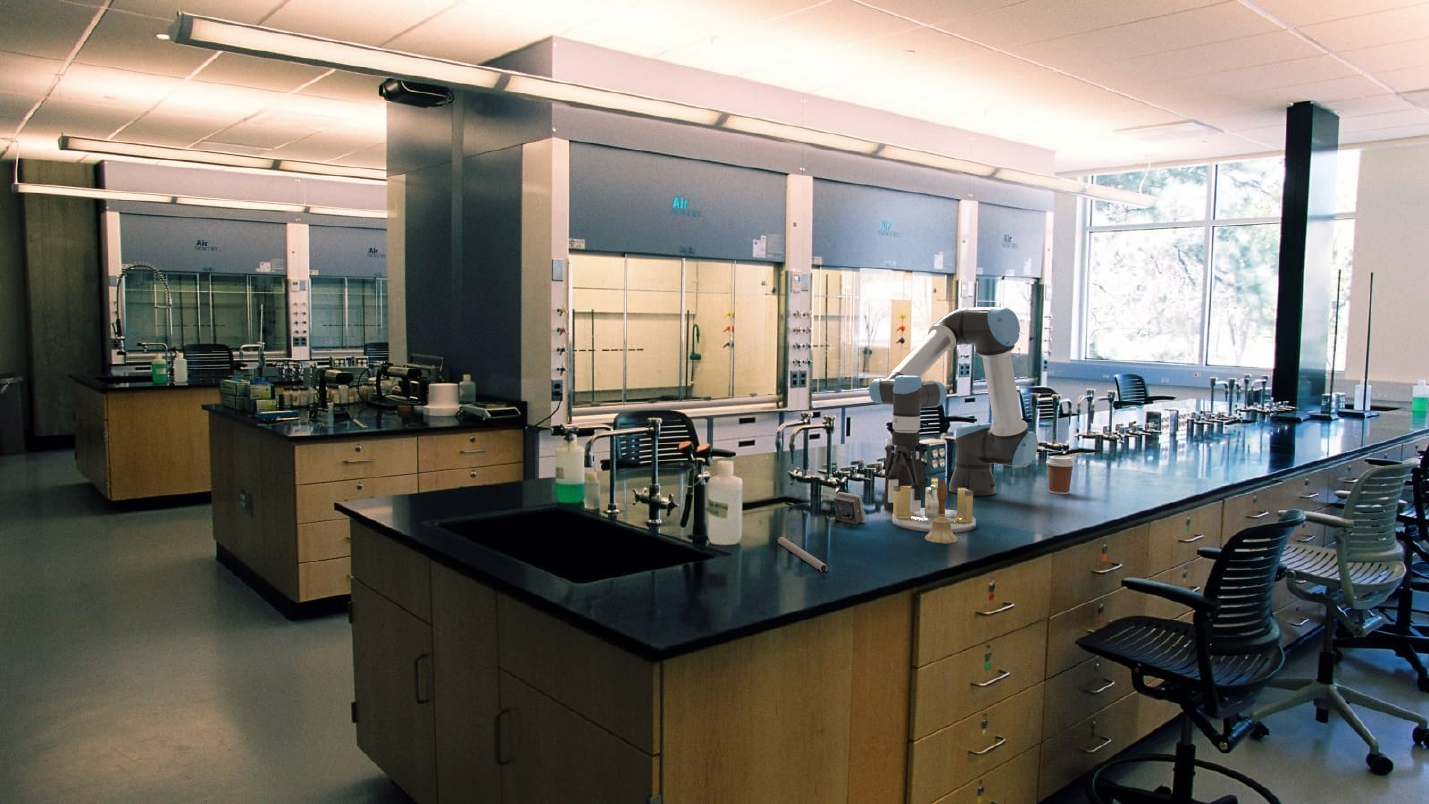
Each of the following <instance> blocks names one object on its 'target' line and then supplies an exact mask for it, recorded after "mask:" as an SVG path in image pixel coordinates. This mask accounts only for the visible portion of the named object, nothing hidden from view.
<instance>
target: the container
mask: <svg viewBox="0 0 1429 804" xmlns="http://www.w3.org/2000/svg"><path fill="white" fill-rule="evenodd" d="M892 445H893V444H892V443H891V444H886V446H885V447H884V450H885V452H886V455H885V456H886V457H885V466H886V465H887V461H888V458H889V454H890V446H892ZM884 477H885V478H884V499H883V509H884V510H885V511H889V512H893V502H892V503H889V502H888V483H889V479H888V478H887V476H885V475H884ZM898 477H899V479H897V480H898V486H912V483H911V479H910V476H909V473H908V470H907V468H906V467H905V466H904V465H903V466H902V468H901V470H900V472H899V474H898Z"/></svg>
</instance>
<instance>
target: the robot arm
mask: <svg viewBox="0 0 1429 804" xmlns="http://www.w3.org/2000/svg"><path fill="white" fill-rule="evenodd" d="M1020 332H1021V326H1020V321H1019V318H1018V316H1017V314H1016V313H1015V312H1014V311H1013V310H1011V309H1010V308H1009V307H1001V306H992V307H989V306H988V307H969V306H968V307H962V308H961V307H960V308H958V309H955V310H953V311H951V312H949V313H947V314H946V315H944V316H942V317H941V318H940V319H938V320H937V321H936V322H935V323H933V324H932V326H931V327H930V328H929V329H928V333H927V335H926V336H925V337H924V338H923V339H922V340H921V341H920V342H919V343H918V345H916V346H915V348H914V349H913V350H912V351H910V353H909V354H908V355H907V356H906V357H905V358H904V359H903V360H901V362H900V363H898V364H897V366H896V367H895V368H894V369H892V371H891V372H890V373H889V374H888V375H887V376H886V377H885V378H883V377H880V378H875V379H873V380H872V381H871V382H870V385H869V388H868V395H869V397H870V399H871V401H872V402H873V403H875V404H881V405H883V406H884V405H890V406H892V407H893V408H892V409H893V410H892V411H893V412H892V420H891V422H892V429H893V431H892V433H891V444H893V445H892V446H890V454H889V458H888V461H887V465H886V464H885V470H884V477H885V476H887V478H888V479H889V483H888V502H889V503H892V502H894V491H893V487H894V486H898V480H897V479H899V477H898V474H899V472H900V470H901V468H902V466H903V465H904V466H905V467H906V468H907V470H908V473H909V476H910V479H911V505H910V512H921V508H922V507H921V506H922V503H921V502H922V489H923V488H926V487H927V481H926V475H925V470H924V465H923V459H922V458H923V457H922V455H923V454H922V453H923V452H922V451H916V446H917V447H918V446H919V445H920V439H921V437H920V436H921V435H920V432H919V431H920V430H921V409H926V408H931V409H934V408H936V407H939V406H940V407H941V406H942V405H943V404H944V403H945V401H946V399H947V394H948V393H947V388H946V387H945V385H944V384H943V383H942V382H940V381H938V380H927V381H925V380H922V377H923V376H924V375H925V374H926V373H927V372H928V371H929V370H930V369H931V368H932V367H933V366H934V365H935V363H936V362H938V360H939V359H940V358H942V356H943V355H944V354H945V353H946V352H950V351H952V350H953V349H955V348H956V347H957V346H961V345H974V347H975V348H974V349H975V352H976V354H977V355H978V356H979V357H981V358H982V363H983V364H982V365H983V370H984V376H985V381H986V386H987V392H988V398H989V404H990V409H991V415H992V421H993V423H991V422H985V423H984V422H983V423H968V424H961V425H959V426H958V427H957V429H956V431H955V432H956V434H955V463H954V465H955V466H954V467H955V468H954V470H953V473H952V476H951V478H950V481H949V485H948V487H949V488H948V491H949V492H951V493H954V494H957V495H958V488H965V489H968V490H970V491H973V496H980V497H981V496H992V495H996V493H997V492H996V491H997V488H996V487H997V486H996V483H995V479H994V476H993V473H992V464H993V465H1001V466H1009V467H1010V466H1011V467H1013V468H1016V467H1018V468H1026V467H1028V466H1029V465H1030V464H1031V463H1032V462H1033V461H1034V459H1035V456H1036V454H1037V450H1038V444H1039V441H1038V435H1037V434H1036V433H1035V432H1034V431H1029V426H1028V423H1027V421H1025V420H1023V418H1022V414H1021V409H1020V402H1019V395H1018V391H1017V390H1018V388H1017V384H1016V378H1015V372H1014V366H1013V365H1014V364H1013V360H1012V354H1011V353H1012V351H1013V350H1014V349H1015V347H1016V346H1015V344H1017V343H1018V341H1019V340H1020Z"/></svg>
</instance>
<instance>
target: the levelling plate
mask: <svg viewBox="0 0 1429 804" xmlns="http://www.w3.org/2000/svg"><path fill="white" fill-rule="evenodd" d="M924 488H925V489H924V490H925V493H924V494H925V495H924V507H921V512H914V515H912V518H911V519H897V518H896V516H895V515H893V513H892V517H891V518H892V519H891V521H892V523H893V524H894V525H895V526H897V527H900V528H902V529H907V530H910V531H911V530H912V531H916V532H917V531H918V532H924V533H929V532H930V530H931V528H932V524H933V519H934V518H937V517H938V516H939V513H938V512H939V501H938V497H937V488H938V485H932V484H930V485H929V486H926V487H924ZM945 517H946V518H948V519H949V520H950V522H951V529H952V532H953V534H954V533H962V532H969V531H971V530H974V529H975V528H976V527H977V526H976V523H977V522H976V521H977V519H976V517H975V516H974V515H972V519H973V522H972V523H960V522H957V521H956V518H957V510H953V509H947V508H945Z"/></svg>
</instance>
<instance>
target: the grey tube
mask: <svg viewBox="0 0 1429 804" xmlns="http://www.w3.org/2000/svg"><path fill="white" fill-rule="evenodd" d="M777 543H778V544H779V545H781V546H782V547H784V548H785V549H786V550H788V551H789V552H791V553H793V554H794V555H795V556H797V557H798V558H800V559H802V560H803V561H805V562H806V563H808V564H809V565H810V566H812V567H814V568H815V569H816V570H818V569H819V570H820V572H823V571H824V570H825V571H824V572H827V571H828V569H829V567H828V565H827V564H826V563H825V562H822V561H821V560H820V559H818V558H817V557H815V556H813V555H812V554H810V553H808V552H807V551H805V550H804V549H803V548H801V547H799V546H798V545H797V544H794V543H793V542H791V541H790V540H788V539H787V538H786V537H784V536H780V537H778V538H777ZM822 569H824V570H822ZM819 570H818V571H819Z"/></svg>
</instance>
